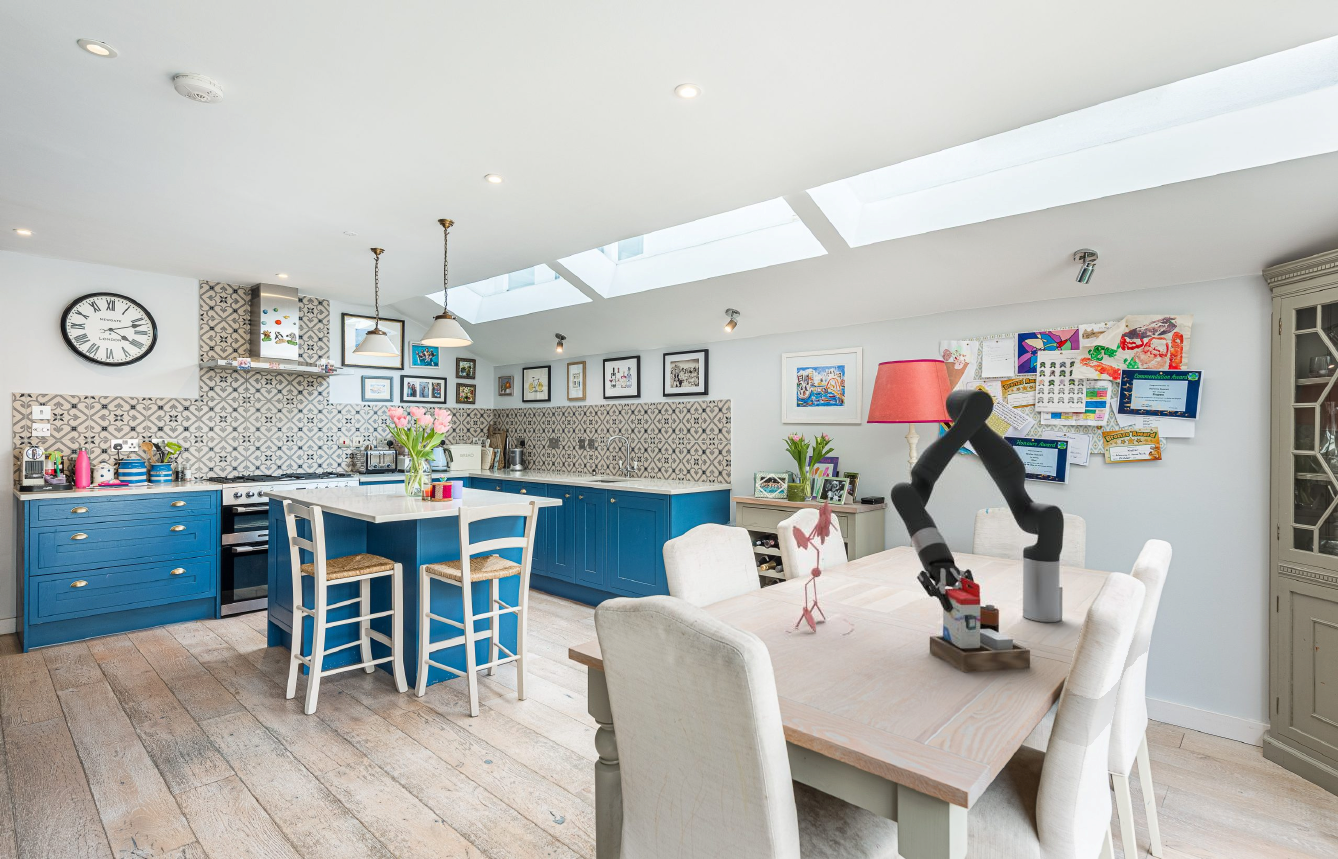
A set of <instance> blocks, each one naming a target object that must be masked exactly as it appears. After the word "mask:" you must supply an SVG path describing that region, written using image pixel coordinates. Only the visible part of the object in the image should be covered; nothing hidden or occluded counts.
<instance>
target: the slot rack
mask: <svg viewBox="0 0 1338 859" xmlns="http://www.w3.org/2000/svg"><path fill="white" fill-rule="evenodd" d="M929 654H931V655H933V656H935V658H938V659H939V660H940V661H943V662H945V663H947V664H948V665H950V666H952V667H953V668H955V669H957V670H959V671H961V672H962V673H969V672H970V673H973V672H985V671H986V672H988V671H1000V670H1001V671H1002V670H1015V669H1029V668H1031V649H1029V648H1026V647H1024V646H1022V645H1020V644H1018V643H1016V642H1013V650H998V651H996V650H994V649H992V648H990V647H988V646H986V645H984V644H982V643H980V648H959V647H958V646H956V645H955V644H953V643H952V642H950V641H949V640H947V639H946V638H944V637H943V635H929Z"/></svg>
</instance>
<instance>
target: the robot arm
mask: <svg viewBox="0 0 1338 859" xmlns="http://www.w3.org/2000/svg"><path fill="white" fill-rule="evenodd" d="M994 407H995V406H994V400H993V397H992V396H991V394H990V393H988V392H987V391H985V390H980V389H956V390H953V391H952V392H950V393H949V394H948V395H947V397H946V400H945V409H946V413H947V415H948V416H949V418H950V420H952V422H953V424H952V426H951V427H950V428H949V429H947V431H946V432H945V433H943V434H942V435H940V436H939V437H938V438H937V439H935V440H934V441H933V442H932V443H931V444H930V445H929V446H928V447H926V448H925V449H924V451H923V452H922V453H921V454H920V456H919V458H918V459H917V461H916V462H915V464H914V465H913V467H912V468H911V470H910V477H911V482H904V481H903V482H902V481H901V482H899V483H896V484H895V485H894V486H893V487H892V489H891V490H890V500H891V502H892V505H893V506H894V508H895V510H896V511H897V513H898V515H899V517H900V518H901V520H902V521H903V524H905V527H906V530H907V532H908V535H909V536H910V539H911V541H912V544H913V548H914V550H915V552H916V555H917V556H918V559H919V560H920V563H921V565H922V568H923V569H924V570H921V571H920V572H919V573H918V575H917V576H916V577H917V578H916V579H917V581H918V582H919V583H920V585H921V586H922V588H923V589H924V590H925V592H926V593H927V595H928V596H929V597H931V598H932V597H935V598H937V600H938V601H939V603H940V605H941V607H942V609H944V610H946V612H951V611H952V609H953V606H952V604H951V602H950V600H949V598H948V595H947V594H945V589H946V587H949V588H951V589H961V588H962V583H961V577H963V578H965V579H968V580H970V581H972V582H974V583H975V580H974V575H973V573H972V571H971V569H968V568H967V569H966V570H962V569H961V570H960V568H959V567H957V566H956V563H955V558H954V556H953V554H952V552H951V550H950V547H949V546H948V544H947V542H946V540H945V538H944V537H943V535H942V534H941V532H940V531H939V529H938V527H937V525H936V523H935V521H934V519H933V517H932V516H931V515H930V514H929V512H928V511H927V510H926V506H927V504H928V502H929V500H930V498H931V495H932V492H933V490H934V486H935V483H936V482H937V481H938V480H939V478H940V477H941V475H942V473H943V472H945V470H946V468H947V466H948V465H949V464H950V462H951V460H952V459H953V458H954V456H956V454H957V453H958V451H959V450H960V449H962V447H963V446H965V444H966V443H967V442H969V444H970V445H971V447H972V449H973V450H974V452H975V453H976V455H977V456H978V458H979V460H980V461H981V463H982V465H983V466H984V468H985V470H986V471H987V473H988V474H989V475H990V477H991V479H992V480H993V482H994V483H995V484H996V486H997V488H998V489H999V492H1000V493H1001V495H1002V496H1003V498H1004V500H1005V502H1006V504H1007V505H1008V508H1009V509H1010V512H1011V514H1012V516H1013V518H1014V520H1015V522H1016V524H1017V525H1018V527H1019V528H1020V529H1021V530H1022V531H1023V532H1024V533H1027V534H1029V535H1030V534H1031V535H1037V540H1036V543H1035V544H1033V545H1028V546H1025V547H1024V548H1023V550H1022V616H1023V617H1024V618H1025V619H1027V620H1031V621H1036V622H1040V623H1041V622H1043V623H1056V622H1059V621H1062V620H1063V594H1064V593H1063V586H1061V585H1060V583H1061V582H1060V573H1061V572H1060V570H1061V569H1060V567H1061V566H1060V563H1061V562H1060V560H1061V559H1060V558H1061V557H1060V556H1061V554H1062V549H1063V543H1064V542H1063V541H1064V531H1065V530H1064V528H1065V521H1064V520H1065V519H1064V514H1063V512H1062V510H1061V508H1060V507H1059V506H1057V505H1055V504H1049V503H1040V502H1035V501H1034V500H1033V499H1032V498H1031V496H1030V495H1029V494H1028V492H1027V490H1026V488H1025V482H1026V475H1027V474H1026V472H1027V470H1026V465H1025V463H1024V462H1023V459H1022V458H1021V456H1020V455H1019V453H1018V452H1017V450H1016V449H1015V448H1014V447H1013V445H1012V444H1011V443H1010V442H1009V441H1008V440H1006V439H1005V438H1004V437H1002V436H1001V435H1000V434H999V433H997V432H996V431H995V430H994V429H993V428H992V427H991V426H990V425H989V424H988V423H987V422H986V421H987V420H988V419H989V418H990V416H991V415H992V413H993V410H994ZM967 586H968V587H969V588H971V589H973V586H971V585H970V584H969V585H968V584H967Z"/></svg>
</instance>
